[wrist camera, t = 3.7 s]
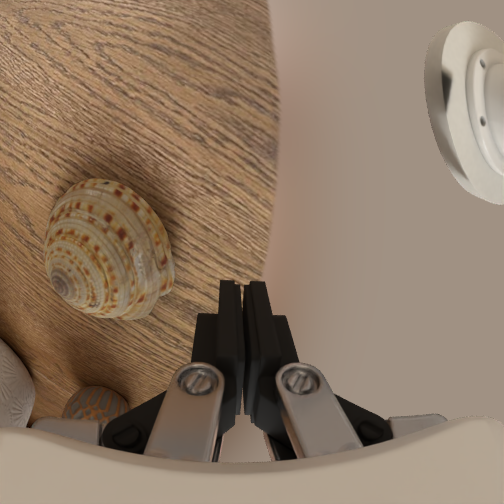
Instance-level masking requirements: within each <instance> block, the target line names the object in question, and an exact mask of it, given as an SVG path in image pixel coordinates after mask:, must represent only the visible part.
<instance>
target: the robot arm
mask: <svg viewBox="0 0 504 504" xmlns="http://www.w3.org/2000/svg"><path fill="white" fill-rule="evenodd" d="M466 95H467V104H468V111H469V116H470V120H471V125H472V128H473V132H474V135H475V138H476V141H477V143H478V146H479V148H480V151H481V153H482V155H483V156H484V158H485V160H486V162H487V163H488V164H489V166H490V167H491V168H492V169H493V170H494V171H495V172H496V173H498V174H500V175H502V176H504V54H503V53H501V52H499V51H498V50H495V49H491V48H488V49H481V50H479V51H476V52H475V53H474V54H473V55H472V57H471V59H470V61H469V64H468V69H467V76H466ZM242 388H243V400H244V413H245V415H250V416H251V423H254V424H255V426H257V427H259V428H260V429H261V430H263V435H264V439H265V442H266V446H267V449H268V452H269V455H270V458H271V462H252V463H219V462H220V456H221V450H222V444H223V439H224V433H225V432H227V431H228V430H229V429H230V428H232V427H233V426H234V425H235V415H240V408H241V397H242ZM0 504H504V426H503V424H502V423H501V422H499V421H498V420H496V419H494V418H491V417H484V416H470V417H462V418H457V419H453V420H449V421H448V420H447V419H446V418H445V417H444V416H442V415H439V414H426V415H416V416H401V417H389V419H388V420H384V419H383V418H381V417H380V416H378V415H376V414H374V413H372V412H369V411H368V410H366V409H363V408H361V407H359V406H357V405H355V404H353V403H351V402H349V401H347V400H345V399H343V398H341V397H340V396H337V395H335V394H334V393H333V391H332V390H331V388H330V386H329V384H328V382H327V381H326V379H325V377H324V375H323V374H322V373H321V372H320V370H318V369H317V368H315V367H314V366H311V365H309V364H305V363H299V359H298V356H297V352H296V349H295V346H294V342H293V338H292V335H291V332H290V328H289V325H288V321H287V318H286V316H285V315H272V310H271V306H270V302H269V297H268V293H267V289H266V285H265V282H261V281H250V284H249V285H244V294H243V307H242V304H241V291H240V285H238V284H235V282H234V281H232V280H220V290H219V309H218V314H208V313H198V316H197V323H196V329H195V336H194V343H193V351H192V358H191V363H188V364H185V365H183V366H181V367H180V368H178V369H177V370H176V372H175V373H174V375H173V377H172V379H171V382H170V384H169V387H168V390H166V391H164V392H163V393H161V394H159V395H157V396H156V397H154V398H152V399H150V400H148V401H147V402H145V403H143V404H141V405H139V406H137V407H136V408H134V409H132V410H130V411H128V412H126V413H124V414H122V415H120V416H119V417H117V418H115V419H113V420H112V421H110V422H109V423H101V422H100V421H99V420H80V419H67V418H57V417H41V418H39V419H37V420H36V421H35V422H34V423H33V425H32V427H31V428H24V427H4V428H0Z"/></svg>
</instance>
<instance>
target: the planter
mask: <svg viewBox="0 0 504 504" xmlns="http://www.w3.org/2000/svg"><path fill="white" fill-rule="evenodd" d="M34 400H35V388H34V384H33V381H32V378H31V376H30V374H29V373H28V371H27V369H26V367H25V366H24V364H23V363H22V362H21V360H20V359H19V358H18V356H17V355H16V354H15V353H14V352H13V351H12V349H11V348H10V347H9V346H8V345H7V344H6V343H5V342H4V341H3V340H1V339H0V428H4V427H24V428H26V425H27V423H28V420H29V417H30V414H31V411H32V408H33V404H34Z"/></svg>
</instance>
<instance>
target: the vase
mask: <svg viewBox="0 0 504 504" xmlns="http://www.w3.org/2000/svg"><path fill="white" fill-rule="evenodd" d="M130 410H131V408H130V406H129V405H128V403H127V402H126V401H125V399H124V398H123V397H122V396H121V395H119V394H118V393H116V392H115V391H113V390H111V389H109V388H106V387H102V386H90V387H85V388H82V389H80V390H79V391H77V392H76V393H75V394H74V395H73V396H72V397H71V398H70V399H69V400H68V402H67V404H66V406H65V408H64V411H63V414H62V418H67V419H80V420H99V421H100V422H101V423H109V422H110V421H112V420H113V419H115V418H117V417H119V416H120V415H122V414H124V413H126V412H128V411H130Z"/></svg>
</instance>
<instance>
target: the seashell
mask: <svg viewBox="0 0 504 504" xmlns="http://www.w3.org/2000/svg"><path fill="white" fill-rule="evenodd" d="M169 248H170V249H169ZM44 262H45V267H46V271H47V275H48V278H49V281H50V283H51V285H52V287H53V288H54V290H55V291H56V292H57V293H58V294H59V295H60V296H61V297H62V298H63V300H64V301H66V302H67V303H68V304H69V305H71V306H72V307H74V308H75V309H77V310H79V311H81V312H84V313H86V314H89V315H93V316H95V317H100V318H115V319H118V320H133V319H140V318H144V317H146V316H147V315H148V314H149V313H150V312H151V311H152V308H153V307H154V305H155V303H156V301H157V299H158V297H160V296H163V295H165V294H167V293H169V292H170V291H171V289H172V288H173V283H174V279H175V270H174V267H175V263H174V259H173V257H172V255H171V245H170V242H169V240H168V235H167V232H166V230H165V228H164V226H163V224H162V223H161V221H160V219H159V218H158V216H157V215H156V213H155V212H154V211H153V209H152V208H151V207H150V206H149V205H148V203H147V202H146V201H145V200H144V199H142V198H141V197H140V196H139V195H138V194H136V193H135V192H134V191H133V190H131V189H130V188H128V187H127V186H125V185H123V184H121V183H118V182H115V181H111V180H107V179H99V178H94V179H88V180H84V181H81V182H78V183H76V184H75V185H73V186H72V187H70V188H69V189H68V190H67V191H66V192H65V193H64V194H63V195H62V196H61V197H60V198H59V199H58V201H57V202H56V204H55V205H54V207H53V209H52V211H51V213H50V216H49V219H48V223H47V228H46V232H45V243H44Z"/></svg>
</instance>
